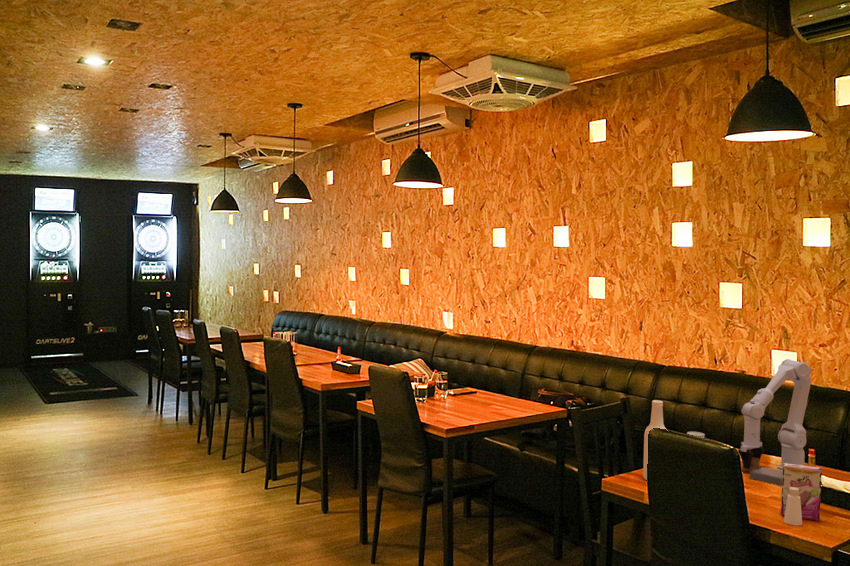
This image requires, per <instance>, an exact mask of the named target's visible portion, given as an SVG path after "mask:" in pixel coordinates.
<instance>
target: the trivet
mask: <svg viewBox="0 0 850 566" xmlns="http://www.w3.org/2000/svg"><path fill="white" fill-rule="evenodd" d="M750 478H751V479H750ZM749 479H750V480H754V479H755V480H754V481H758V480H759V482H762V481H764V482H763V483H766V482H768V483H767V484H771V483H773V484H772V485H775V484H777V485H776V486H779V485H781V486H780V487H782V470H781V469H780V470H779V469H774V468H771V467H766V466H765V467H759V469H757V470H754V471H752V472H749Z"/></svg>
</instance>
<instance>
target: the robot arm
mask: <svg viewBox="0 0 850 566" xmlns="http://www.w3.org/2000/svg"><path fill="white" fill-rule="evenodd" d="M811 372H812V369H811V367H810V366H809V365H808V363H807V362H804V361H796V360H792V359H789V358H788V359H787V358H786V359H785V360H783V361H782V362H781V363H780V364H779V365H778V368H777V371H776V373H775V374H774V376H772V379H770V382H768V384H767V386H766V387H765V388H760V389H758V390H757V392H756V394H755V395H753V398H751V399H750V400H749V402H746V403H744V405H743V406H742V408H741V414H742V415H743V419H744V423H743V424H744V426H743V427H744V428H743V429H744V431H743V433H744V434H743V441H741V443H740V449H738V451H737V453H739V456H740V458H741V462H742V468H743V467H744V468H746V469H750V465H751V459H752V457H754V458H759V462H760V461H761V457H762V456H763V454H764V452H765V448H764V447H763V442H762V441H761V437H760V436H761V418H763V416H764V415H765V411H766V407H767V406H768V405H769V404H770V402H772V401H773V399H774V397H775V396H774V394H775V392H777V390H779V388H780V387H781V386H782V385H783V384H784V383H785V382H786V381H788V380H791V382H792V383H793V384H794V387H793V391H792V397H791V402H790V405H789V409H788V410H789V412H788V415H787V420H786V422H785V423H783V424H781V427H780V428H781V429H780V430H779V431H778V434H777V439H778V441H779V442H780V445H781V459H780V460H781V461H780V463H781V464H780V465H778V466H776V468H777V469H780V470H782V467H783V463H789V464H796V465H804V466H805V457H806V456H805V454H806V453H805V450H804V447H805V446H806V444H807V430H806V429H805V427H804V426H803V423H804V418H805V414H806V409H807V403H808V398H809V394H810V389H811V385H812V383H811Z"/></svg>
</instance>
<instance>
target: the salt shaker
mask: <svg viewBox="0 0 850 566" xmlns="http://www.w3.org/2000/svg"><path fill="white" fill-rule="evenodd" d="M798 494H799V489H798V488H795V487H790V488H789V495H788V496H787V502H786V509H785V516H783V517H784V519H783V522H784V523H786V524H787V525H791V526H802V525H803V519H802V514H801V501H800V496H798Z"/></svg>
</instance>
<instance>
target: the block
mask: <svg viewBox="0 0 850 566" xmlns="http://www.w3.org/2000/svg"><path fill="white" fill-rule="evenodd" d="M757 469H760V461H759V458H754V457H752V459H751V465H750V469H746V468H744V467H743V466H742V471H745V472H749V473H750V472H752V471H754V470H757Z"/></svg>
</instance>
